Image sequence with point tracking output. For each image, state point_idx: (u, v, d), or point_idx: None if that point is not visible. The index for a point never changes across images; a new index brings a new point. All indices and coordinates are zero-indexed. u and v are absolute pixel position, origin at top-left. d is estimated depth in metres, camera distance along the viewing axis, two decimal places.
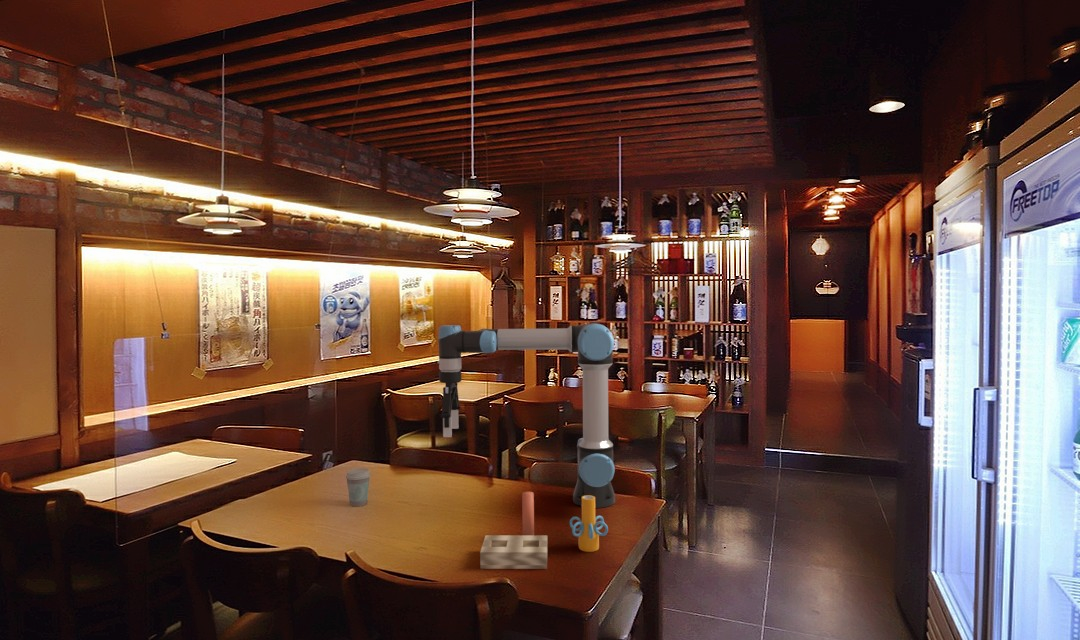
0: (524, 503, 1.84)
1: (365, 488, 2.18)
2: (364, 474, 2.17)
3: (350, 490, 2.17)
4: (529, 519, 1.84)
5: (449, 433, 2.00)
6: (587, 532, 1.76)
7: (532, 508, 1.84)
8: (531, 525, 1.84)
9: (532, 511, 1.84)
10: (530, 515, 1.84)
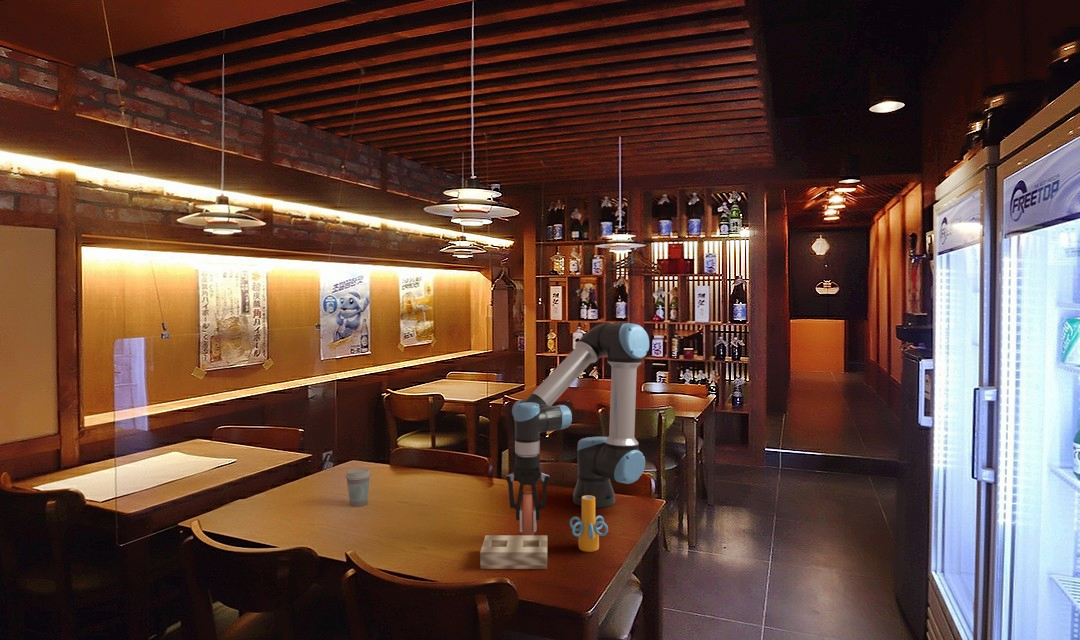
0: (524, 503, 1.84)
1: (365, 488, 2.18)
2: (364, 474, 2.17)
3: (350, 490, 2.17)
4: (529, 519, 1.84)
5: None
6: (587, 532, 1.76)
7: (532, 508, 1.84)
8: (531, 525, 1.84)
9: (532, 511, 1.84)
10: (530, 515, 1.84)
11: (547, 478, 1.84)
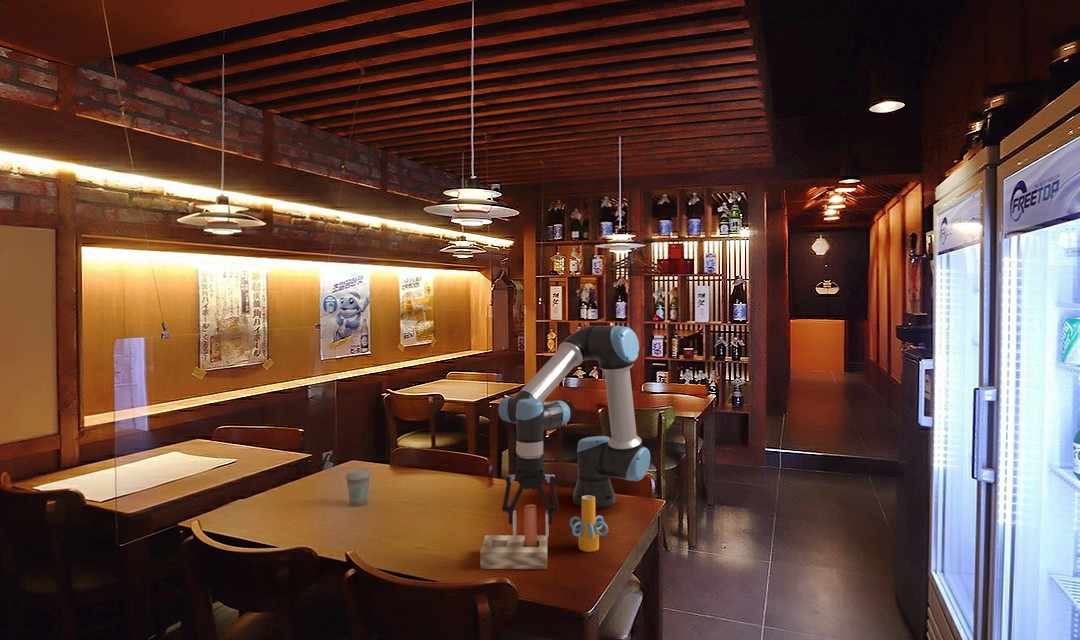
0: (526, 517, 1.69)
1: (365, 488, 2.18)
2: (364, 474, 2.17)
3: (350, 490, 2.17)
4: (532, 535, 1.69)
5: (513, 532, 1.70)
6: (587, 532, 1.76)
7: (535, 523, 1.69)
8: (534, 541, 1.69)
9: (535, 526, 1.69)
10: (533, 531, 1.69)
11: (552, 478, 1.69)
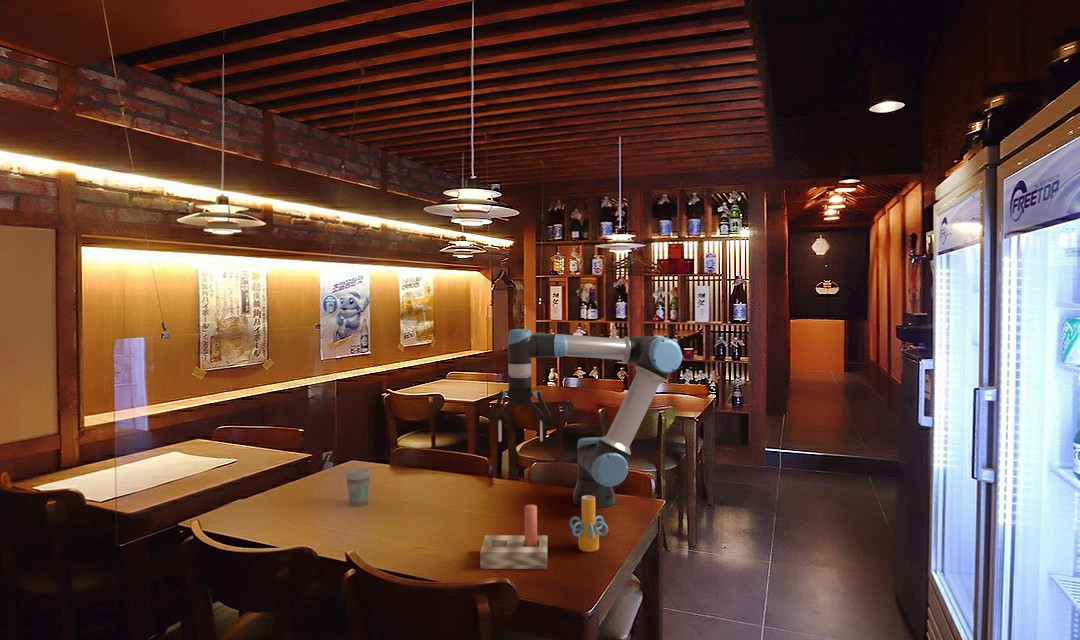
0: (527, 517, 1.69)
1: (365, 488, 2.18)
2: (364, 474, 2.17)
3: (350, 490, 2.17)
4: (532, 535, 1.69)
5: None
6: (587, 532, 1.76)
7: (535, 523, 1.69)
8: (535, 541, 1.69)
9: (535, 526, 1.69)
10: (533, 531, 1.69)
11: (539, 393, 1.98)
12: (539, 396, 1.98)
